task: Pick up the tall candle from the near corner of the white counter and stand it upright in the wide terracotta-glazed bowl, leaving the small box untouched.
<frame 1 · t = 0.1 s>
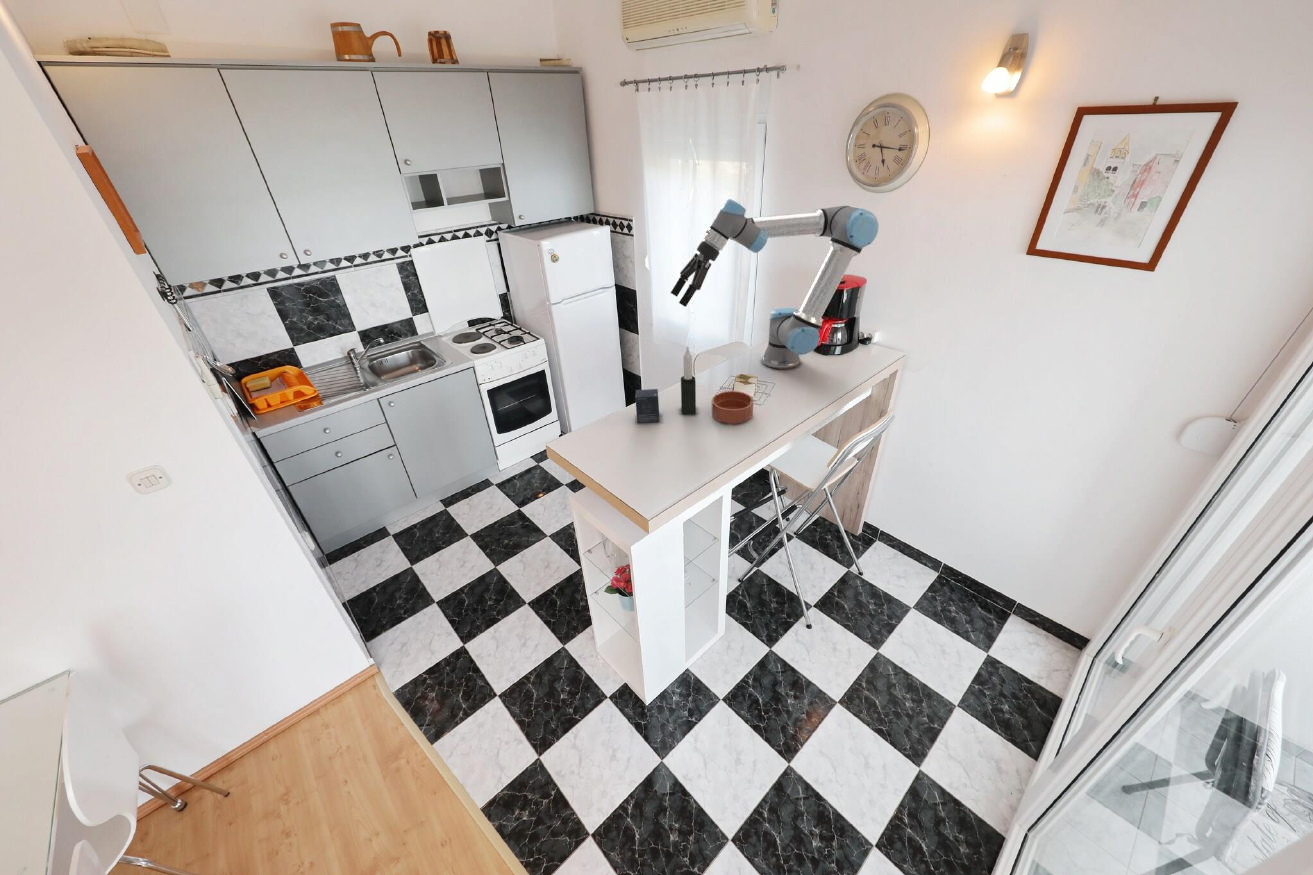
hand: (677, 299, 179), 36 cm above the worktop, tool tilted 35°, fingers open, 13 cm apart
box: (648, 419, 179), on the worktop
bowl: (732, 415, 178), on the worktop
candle: (688, 411, 182), on the worktop
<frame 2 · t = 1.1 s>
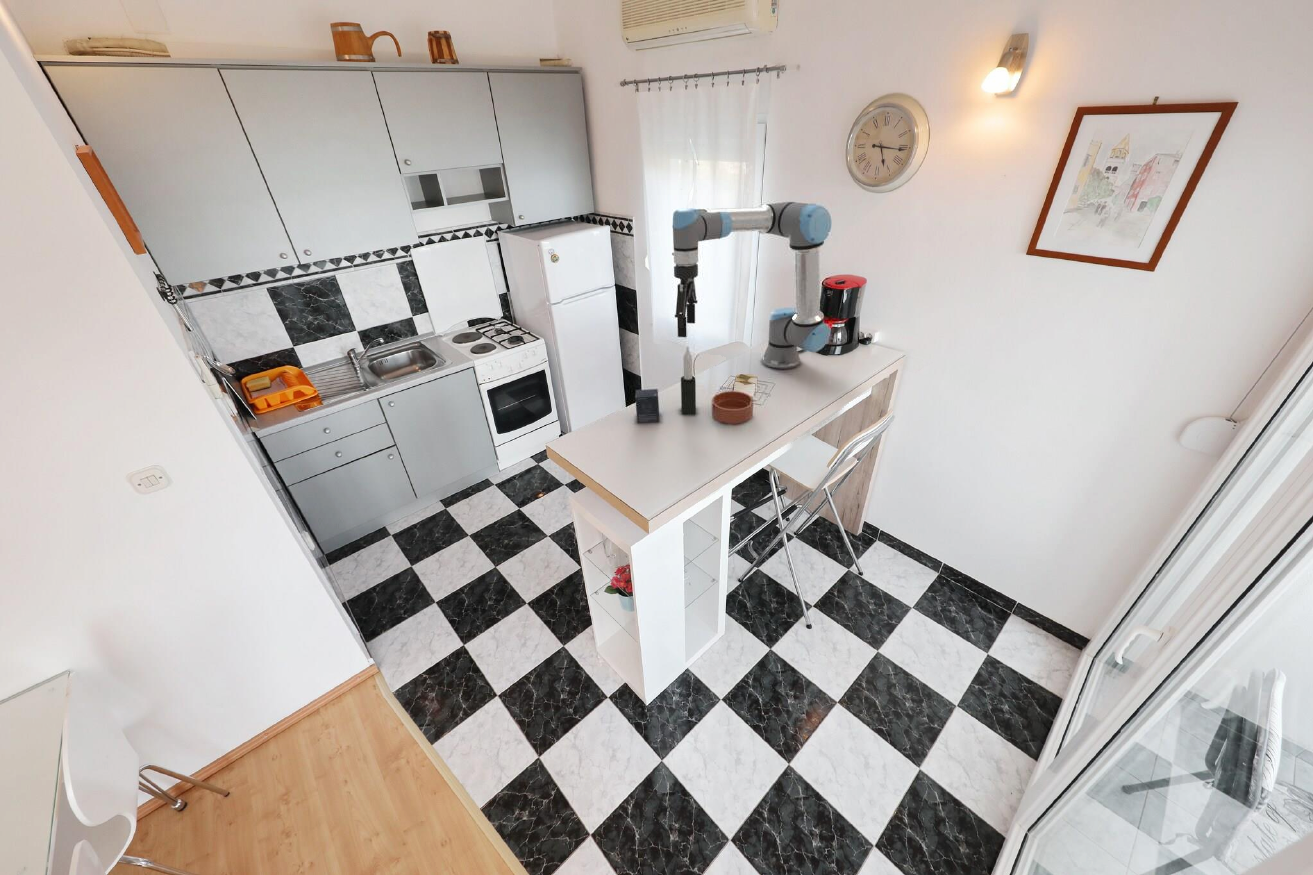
hand: (686, 329, 166), 31 cm above the worktop, tool pointing down, fingers open, 13 cm apart
nothing on the worktop moved.
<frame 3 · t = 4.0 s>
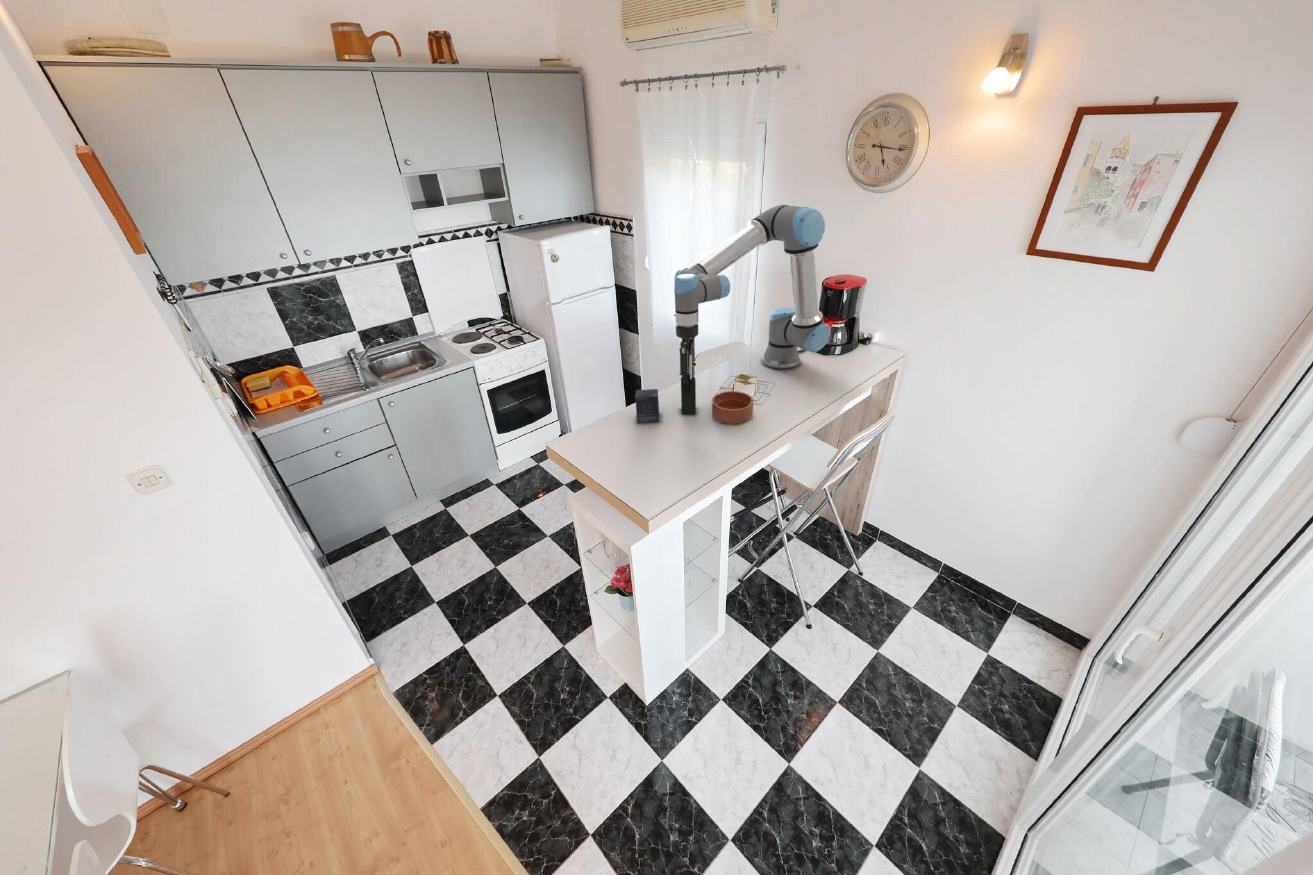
hand: (688, 387, 177), 10 cm above the worktop, tool pointing down, fingers closed on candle, 6 cm apart
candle: (688, 411, 182), on the worktop, touching gripper
everything else where it was.
when the fingers open (11 cm above the worktop, at t = 10.7 s): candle stays where it is, resting on bowl.
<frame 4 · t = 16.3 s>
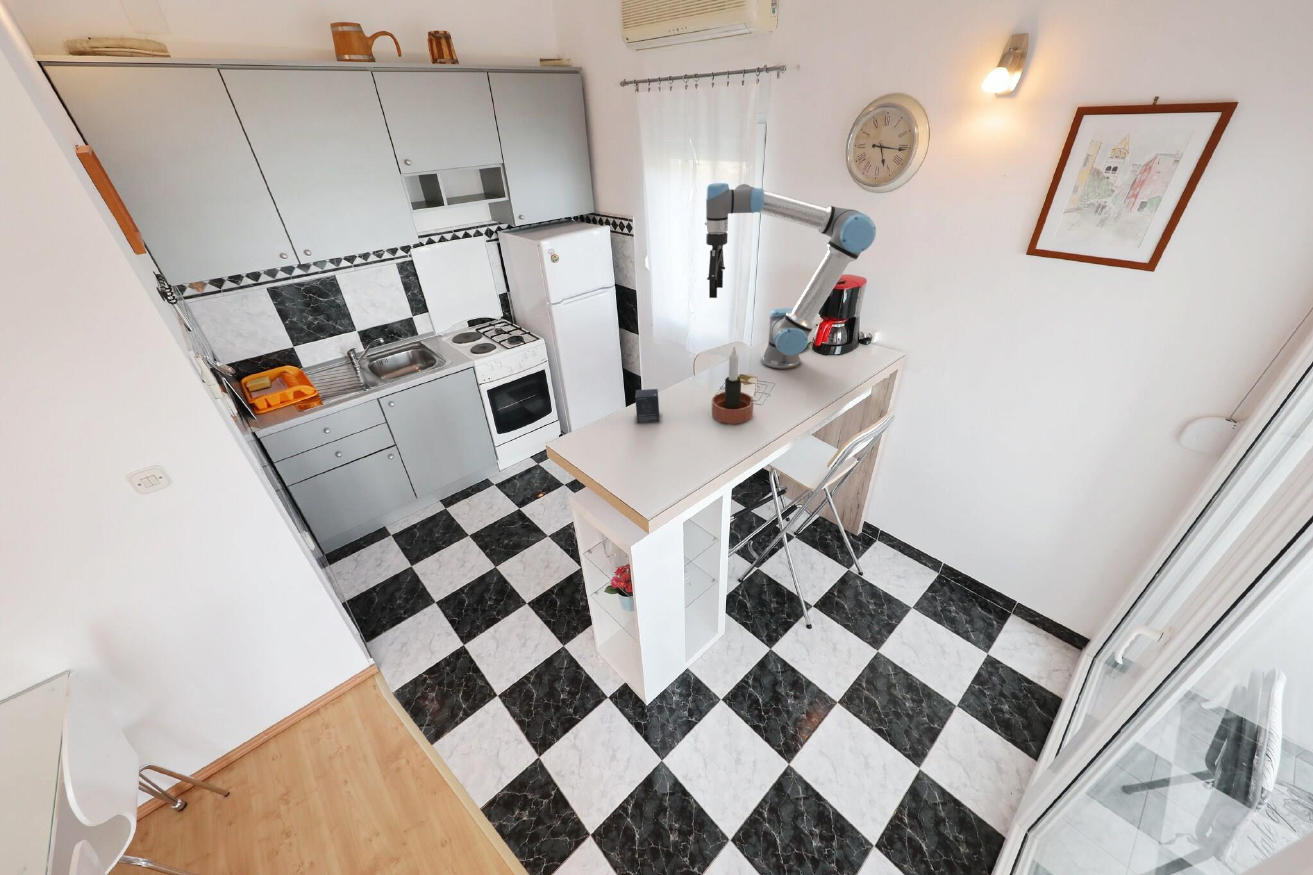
hand: (716, 292, 188), 35 cm above the worktop, tool pointing down, fingers open, 13 cm apart
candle: (732, 413, 178), point 1 cm above the worktop, touching bowl
everything else where it was.
at the end: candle inside the target area in the bowl (0.0 cm from its centre), point 0.6 cm above the bowl's base; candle tilted 0°; the gripper is holding nothing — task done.
